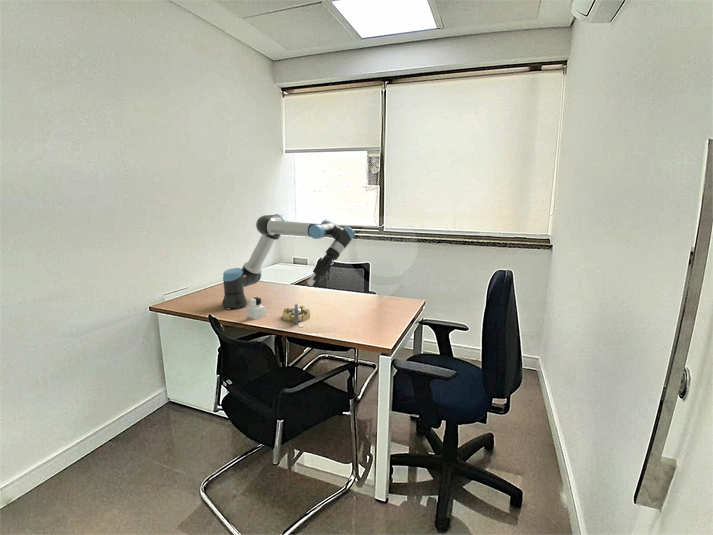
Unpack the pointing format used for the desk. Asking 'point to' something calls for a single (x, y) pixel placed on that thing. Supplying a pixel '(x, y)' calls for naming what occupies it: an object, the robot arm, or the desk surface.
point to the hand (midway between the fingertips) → (309, 284)
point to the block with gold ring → (296, 314)
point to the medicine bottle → (255, 308)
